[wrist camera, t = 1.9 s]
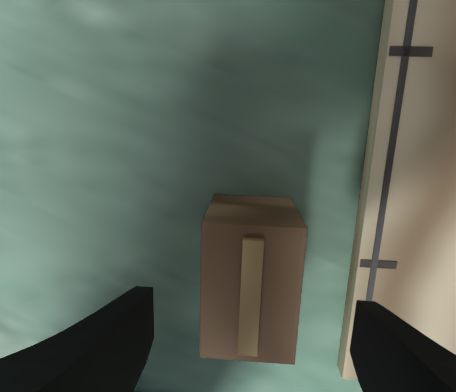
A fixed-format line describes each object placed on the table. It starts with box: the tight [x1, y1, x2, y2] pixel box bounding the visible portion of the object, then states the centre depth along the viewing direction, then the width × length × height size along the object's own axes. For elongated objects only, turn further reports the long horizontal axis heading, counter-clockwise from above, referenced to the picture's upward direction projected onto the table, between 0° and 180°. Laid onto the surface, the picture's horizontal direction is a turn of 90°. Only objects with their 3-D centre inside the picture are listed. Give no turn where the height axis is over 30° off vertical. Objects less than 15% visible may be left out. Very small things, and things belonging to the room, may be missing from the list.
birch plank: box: [337, 0, 456, 380], centre depth 15 cm, size 6×24×1 cm, turn 178°
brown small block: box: [200, 194, 308, 365], centre depth 15 cm, size 4×6×5 cm, turn 178°
